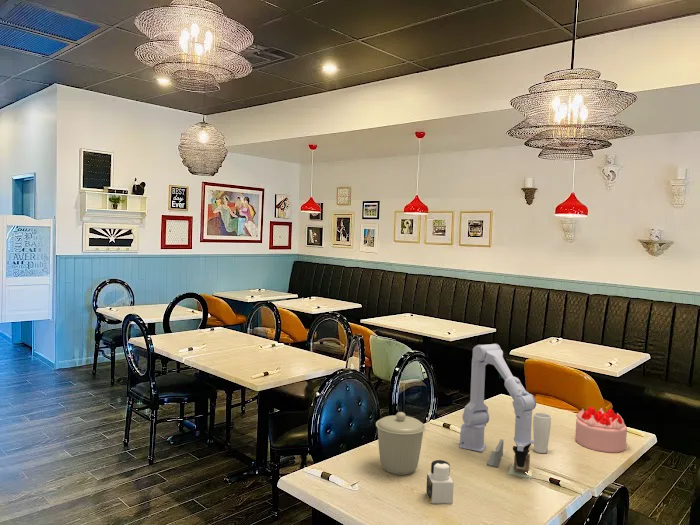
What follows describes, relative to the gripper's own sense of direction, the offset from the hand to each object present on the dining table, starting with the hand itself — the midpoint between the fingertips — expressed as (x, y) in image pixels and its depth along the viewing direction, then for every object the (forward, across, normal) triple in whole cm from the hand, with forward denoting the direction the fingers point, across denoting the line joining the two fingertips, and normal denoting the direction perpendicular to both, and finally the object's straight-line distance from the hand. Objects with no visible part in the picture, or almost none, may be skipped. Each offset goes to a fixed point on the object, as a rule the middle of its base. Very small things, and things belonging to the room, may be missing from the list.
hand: (521, 463), depth 196 cm
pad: (+3, 0, 0) cm, 3 cm away
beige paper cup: (+3, +25, -5) cm, 26 cm away
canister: (+3, -19, +41) cm, 45 cm away
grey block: (+3, +7, +10) cm, 13 cm away
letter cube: (+2, 0, 0) cm, 2 cm away
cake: (+3, +47, -27) cm, 54 cm away
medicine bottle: (+3, -34, +22) cm, 41 cm away
